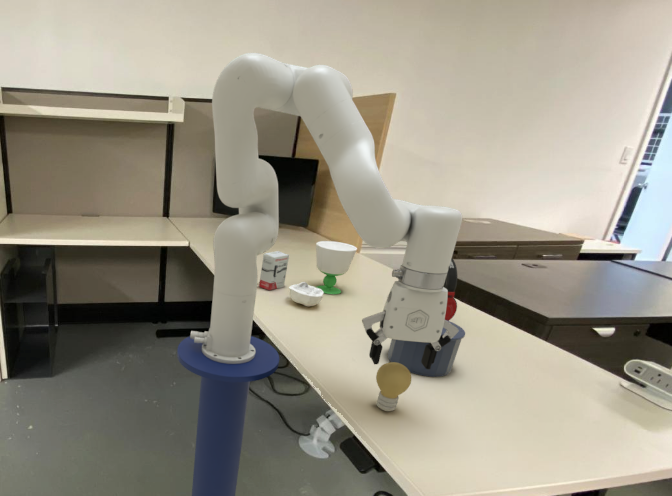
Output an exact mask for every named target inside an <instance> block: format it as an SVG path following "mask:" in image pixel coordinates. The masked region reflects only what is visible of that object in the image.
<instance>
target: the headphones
mask: <svg viewBox="0 0 672 496" xmlns="http://www.w3.org/2000/svg"><path fill="white" fill-rule="evenodd" d="M457 284H458V268H457V265H456V262H455V260H454V258H452V259H451V262H450V266H449V269H448V273H447V276H446V280H445V284H444V288H446V289H447V290H448V297H447V307H446V314H445V320H448V321H451V320H452V319H453V317H454V316H455V314H456V313H457V309H458V302H457V300H456V298H454V297H455V295H456V289H457Z"/></svg>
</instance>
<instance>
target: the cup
mask: <svg viewBox="0 0 672 496" xmlns="http://www.w3.org/2000/svg"><path fill="white" fill-rule="evenodd" d="M357 250H358V247H356V246H355V245H352V244H349V243H345V242H339V241H334V240H333V241H331V240H320V241H317V242H316V243H315V251H316V255H315V257H316V258H315V259H316V267H317V270H318V271H320V273H322V274H324V275H325V276H324V277H323V281H322V283H323V285H316V286H315V287H316V288H319V289H321V290H322V291H323V292H324V293H323V294H327V295H339V294H341V293H342V290H341V289H340V288H338V287H335V285H336V284H337V277H339V276H342V275H345V274H346V273H348V271H349V270H350V269H349V268H350V266H351V264H352V262H353V260H354V257H355V255H356V254H357V253H356V252H357Z"/></svg>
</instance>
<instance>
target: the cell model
mask: <svg viewBox="0 0 672 496" xmlns="http://www.w3.org/2000/svg"><path fill="white" fill-rule="evenodd" d="M288 289H289V297H290V299H291V300H292V301H293V302H294V303H297V304H301V305H303V306H304V307H313V306H317V305H319V303H321V300H322V299H323V295H324V294H325V293H324V292H323V291H322V290H321V289H319V288H316V286H314V285H309V284H308V283H307V282H306V281H301V282H299V283H295V284H291V285H289V286H288Z"/></svg>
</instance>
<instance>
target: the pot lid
mask: <svg viewBox="0 0 672 496" xmlns="http://www.w3.org/2000/svg"><path fill="white" fill-rule="evenodd" d="M446 321H448V320H446ZM448 322H449V323H451V324H452V325H454V326H455V327H456V328H458V330H459V331H458V333H457V334H456V335H455V336H454V337H453V338H452V339H451V341H455V340H460V339H461V340H462V339H464V338H465V336H466V331H465V329H464V328H462V327H461V326H460V325H458V324H456V323H454V322H452V321H451V320H449V321H448ZM445 332H446V329H445V328H443V329H442V333H441V335H443V334H445Z"/></svg>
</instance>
